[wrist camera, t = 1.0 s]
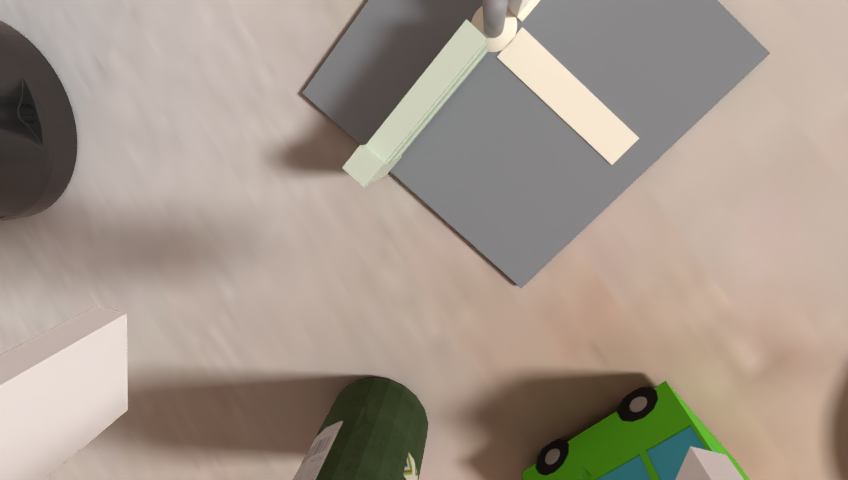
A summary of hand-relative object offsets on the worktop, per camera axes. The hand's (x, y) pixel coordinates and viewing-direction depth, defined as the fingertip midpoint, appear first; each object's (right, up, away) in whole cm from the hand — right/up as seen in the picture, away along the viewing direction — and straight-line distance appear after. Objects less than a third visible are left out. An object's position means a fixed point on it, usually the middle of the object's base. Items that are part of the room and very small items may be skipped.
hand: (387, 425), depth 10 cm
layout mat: (+7, +15, +18) cm, 24 cm away
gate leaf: (+1, +13, +18) cm, 22 cm away
